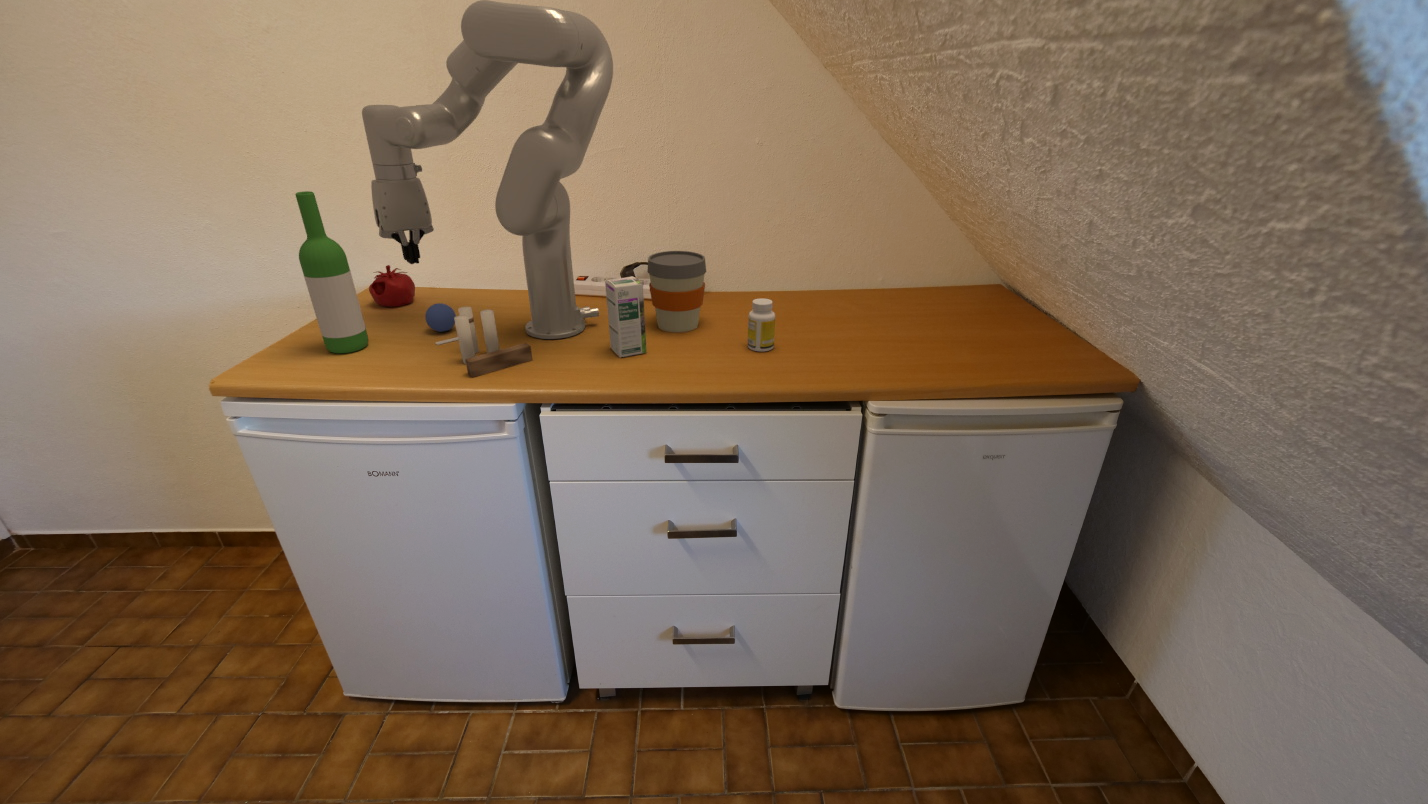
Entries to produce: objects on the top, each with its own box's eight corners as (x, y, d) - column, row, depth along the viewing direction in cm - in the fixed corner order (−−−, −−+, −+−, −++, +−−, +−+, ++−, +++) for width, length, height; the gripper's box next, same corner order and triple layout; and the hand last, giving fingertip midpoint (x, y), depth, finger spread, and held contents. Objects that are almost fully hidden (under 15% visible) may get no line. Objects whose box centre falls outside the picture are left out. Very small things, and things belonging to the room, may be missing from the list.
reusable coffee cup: (673, 340, 131) (671, 269, 124) (638, 323, 139) (635, 257, 132) (717, 326, 138) (718, 259, 131) (682, 311, 147) (681, 247, 140)
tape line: (473, 334, 133) (473, 333, 133) (475, 335, 132) (475, 334, 132) (435, 343, 128) (435, 342, 128) (437, 345, 127) (437, 344, 127)
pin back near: (499, 351, 125) (492, 308, 120) (501, 356, 123) (494, 312, 118) (486, 353, 124) (479, 310, 119) (488, 358, 122) (481, 314, 118)
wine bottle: (340, 358, 121) (293, 198, 107) (318, 349, 125) (269, 193, 111) (378, 345, 127) (338, 191, 113) (355, 337, 130) (314, 187, 116)
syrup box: (619, 358, 122) (615, 286, 115) (609, 348, 127) (604, 278, 120) (646, 353, 125) (643, 282, 118) (636, 343, 129) (632, 274, 122)
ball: (456, 324, 138) (451, 298, 135) (460, 333, 133) (454, 306, 130) (427, 328, 135) (421, 302, 133) (429, 337, 131) (423, 310, 128)
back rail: (527, 356, 122) (525, 342, 121) (532, 360, 121) (530, 345, 120) (468, 374, 115) (465, 359, 114) (472, 377, 114) (469, 362, 113)
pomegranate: (413, 295, 156) (406, 257, 152) (421, 305, 149) (414, 267, 145) (369, 300, 151) (361, 262, 147) (375, 312, 144) (366, 272, 140)
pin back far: (475, 358, 122) (466, 314, 117) (476, 362, 120) (468, 318, 116) (462, 360, 121) (453, 316, 116) (463, 365, 119) (455, 320, 115)
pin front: (478, 348, 126) (470, 305, 122) (480, 352, 124) (472, 309, 120) (465, 350, 125) (457, 307, 121) (467, 355, 123) (458, 311, 119)
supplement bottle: (776, 344, 129) (779, 298, 125) (769, 354, 125) (772, 307, 120) (751, 340, 131) (753, 295, 126) (744, 350, 126) (745, 304, 122)
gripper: (425, 168, 133) (441, 253, 142) (349, 173, 124) (370, 264, 133) (439, 172, 128) (454, 260, 137) (360, 178, 119) (381, 272, 128)
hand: (413, 262), depth 135 cm, fingers closed
